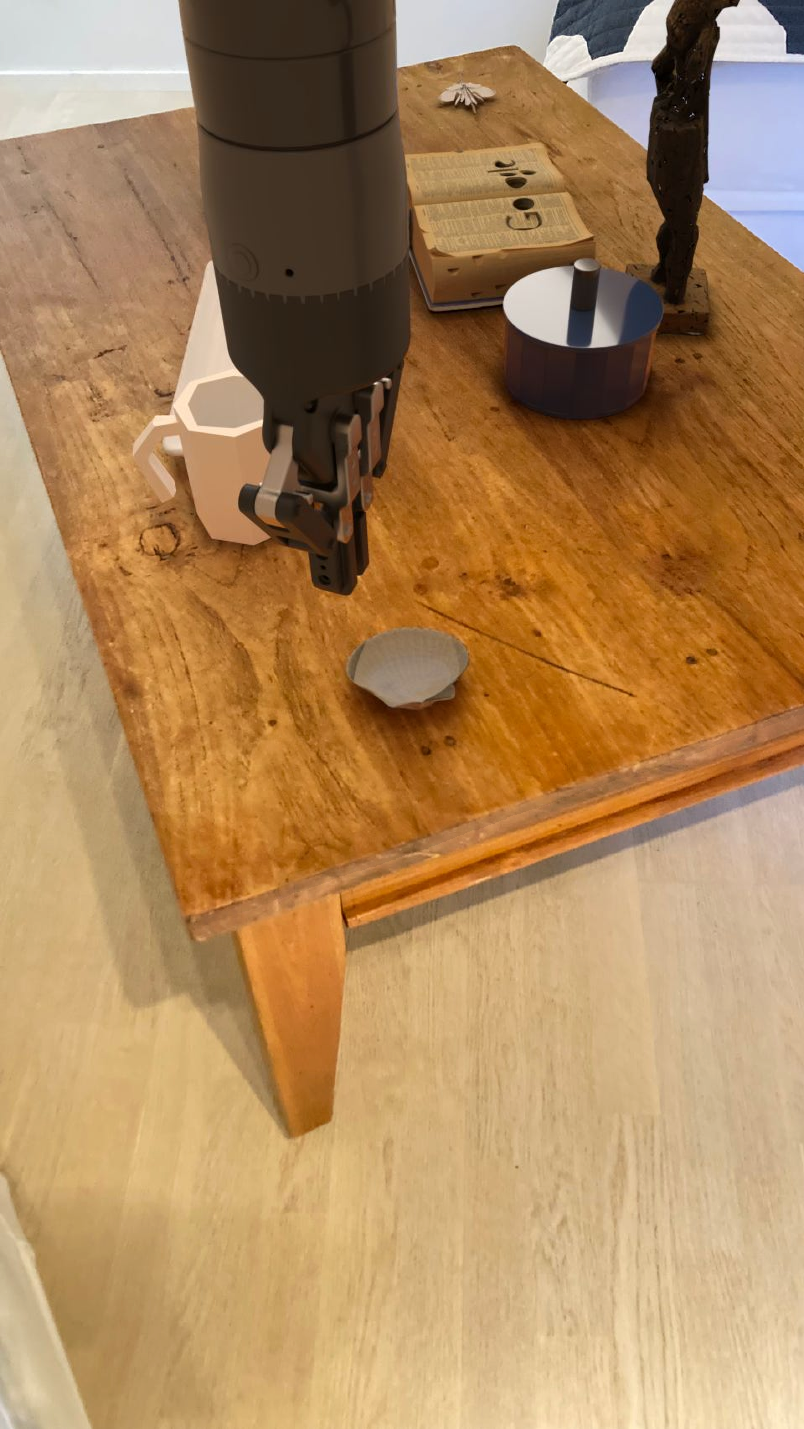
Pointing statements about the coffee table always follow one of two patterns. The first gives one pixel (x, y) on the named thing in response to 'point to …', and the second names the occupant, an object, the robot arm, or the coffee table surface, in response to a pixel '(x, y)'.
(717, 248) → the coffee table surface
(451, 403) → the coffee table surface
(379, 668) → the seashell
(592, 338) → the pot lid
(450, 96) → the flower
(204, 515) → the mug
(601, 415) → the pot
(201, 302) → the white slab
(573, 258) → the book
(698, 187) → the sculpture
